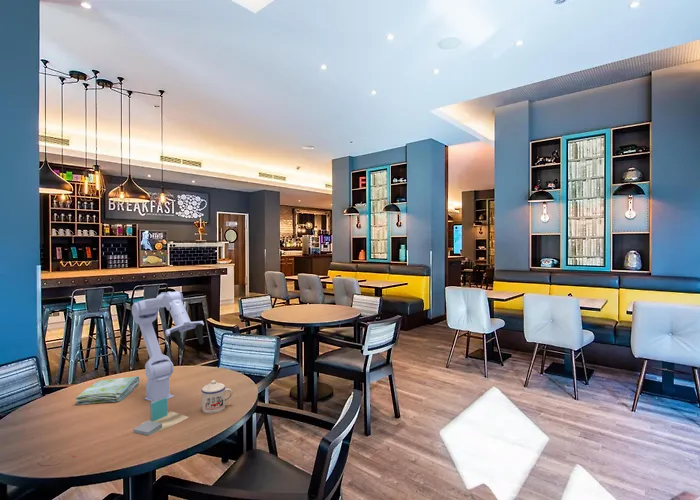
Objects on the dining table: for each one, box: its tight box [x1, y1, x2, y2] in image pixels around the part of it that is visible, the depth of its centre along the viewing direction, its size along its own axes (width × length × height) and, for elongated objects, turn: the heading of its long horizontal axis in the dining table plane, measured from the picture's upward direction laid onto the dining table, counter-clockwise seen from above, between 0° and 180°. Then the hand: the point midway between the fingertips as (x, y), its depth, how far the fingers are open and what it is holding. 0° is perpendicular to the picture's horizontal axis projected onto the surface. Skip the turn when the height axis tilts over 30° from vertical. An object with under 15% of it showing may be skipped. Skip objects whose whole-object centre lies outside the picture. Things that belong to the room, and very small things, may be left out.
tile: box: [149, 397, 168, 422], centre depth 143 cm, size 1×6×7 cm, turn 151°
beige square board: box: [140, 410, 190, 432], centre depth 141 cm, size 12×12×1 cm
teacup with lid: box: [200, 379, 234, 414], centre depth 151 cm, size 12×9×12 cm
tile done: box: [132, 420, 162, 437], centre depth 134 cm, size 7×6×1 cm
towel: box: [74, 375, 140, 406], centre depth 167 cm, size 18×21×5 cm
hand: (192, 345), depth 145 cm, fingers open, 7 cm apart
